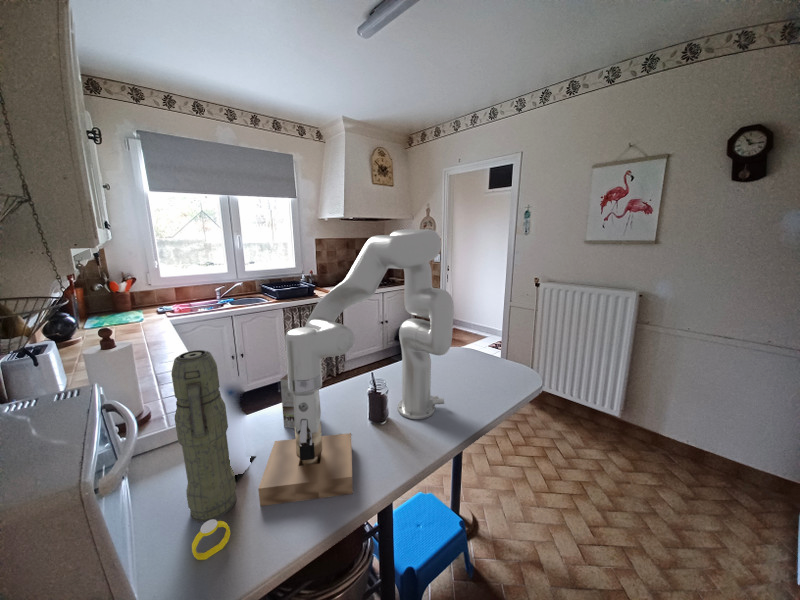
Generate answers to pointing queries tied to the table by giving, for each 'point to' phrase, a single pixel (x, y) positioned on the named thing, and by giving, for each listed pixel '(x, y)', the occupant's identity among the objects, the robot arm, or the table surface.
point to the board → (307, 472)
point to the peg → (317, 446)
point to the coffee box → (287, 404)
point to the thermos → (203, 435)
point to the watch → (207, 530)
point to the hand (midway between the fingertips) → (309, 448)
